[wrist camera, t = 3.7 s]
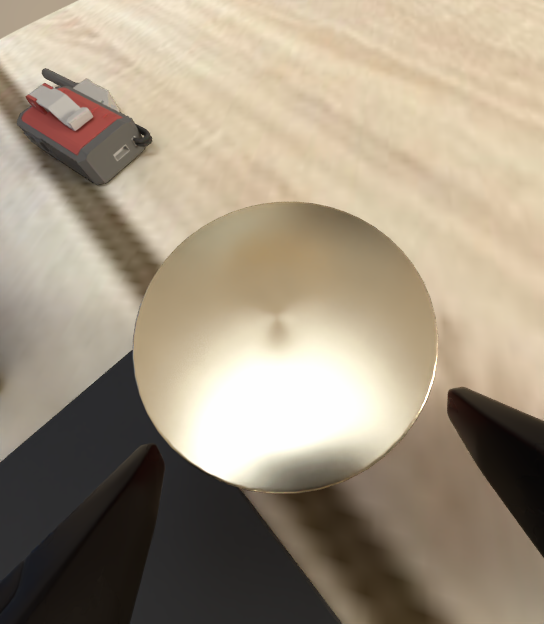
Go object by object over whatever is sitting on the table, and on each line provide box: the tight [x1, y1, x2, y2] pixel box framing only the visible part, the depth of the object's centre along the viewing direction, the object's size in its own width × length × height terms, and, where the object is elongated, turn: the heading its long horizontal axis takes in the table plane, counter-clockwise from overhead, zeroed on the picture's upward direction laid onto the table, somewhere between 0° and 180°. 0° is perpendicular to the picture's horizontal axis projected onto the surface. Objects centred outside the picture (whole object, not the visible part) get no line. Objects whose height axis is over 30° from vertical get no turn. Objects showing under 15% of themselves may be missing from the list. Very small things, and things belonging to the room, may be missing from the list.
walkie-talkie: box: [17, 68, 152, 185], centre depth 29 cm, size 9×4×20 cm
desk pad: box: [0, 350, 342, 624], centre depth 15 cm, size 24×14×1 cm, turn 43°
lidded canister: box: [133, 202, 438, 494], centre depth 12 cm, size 6×6×13 cm
